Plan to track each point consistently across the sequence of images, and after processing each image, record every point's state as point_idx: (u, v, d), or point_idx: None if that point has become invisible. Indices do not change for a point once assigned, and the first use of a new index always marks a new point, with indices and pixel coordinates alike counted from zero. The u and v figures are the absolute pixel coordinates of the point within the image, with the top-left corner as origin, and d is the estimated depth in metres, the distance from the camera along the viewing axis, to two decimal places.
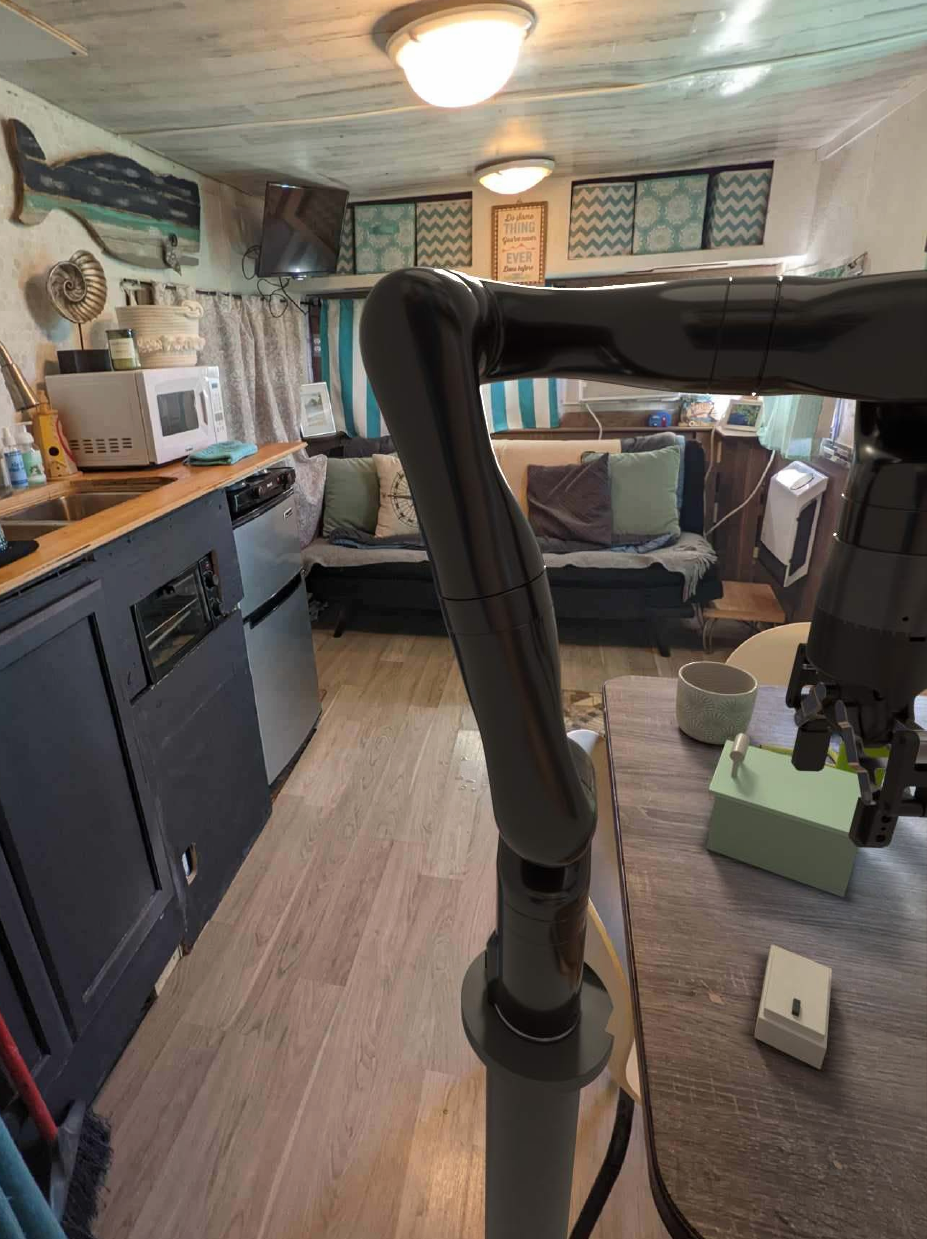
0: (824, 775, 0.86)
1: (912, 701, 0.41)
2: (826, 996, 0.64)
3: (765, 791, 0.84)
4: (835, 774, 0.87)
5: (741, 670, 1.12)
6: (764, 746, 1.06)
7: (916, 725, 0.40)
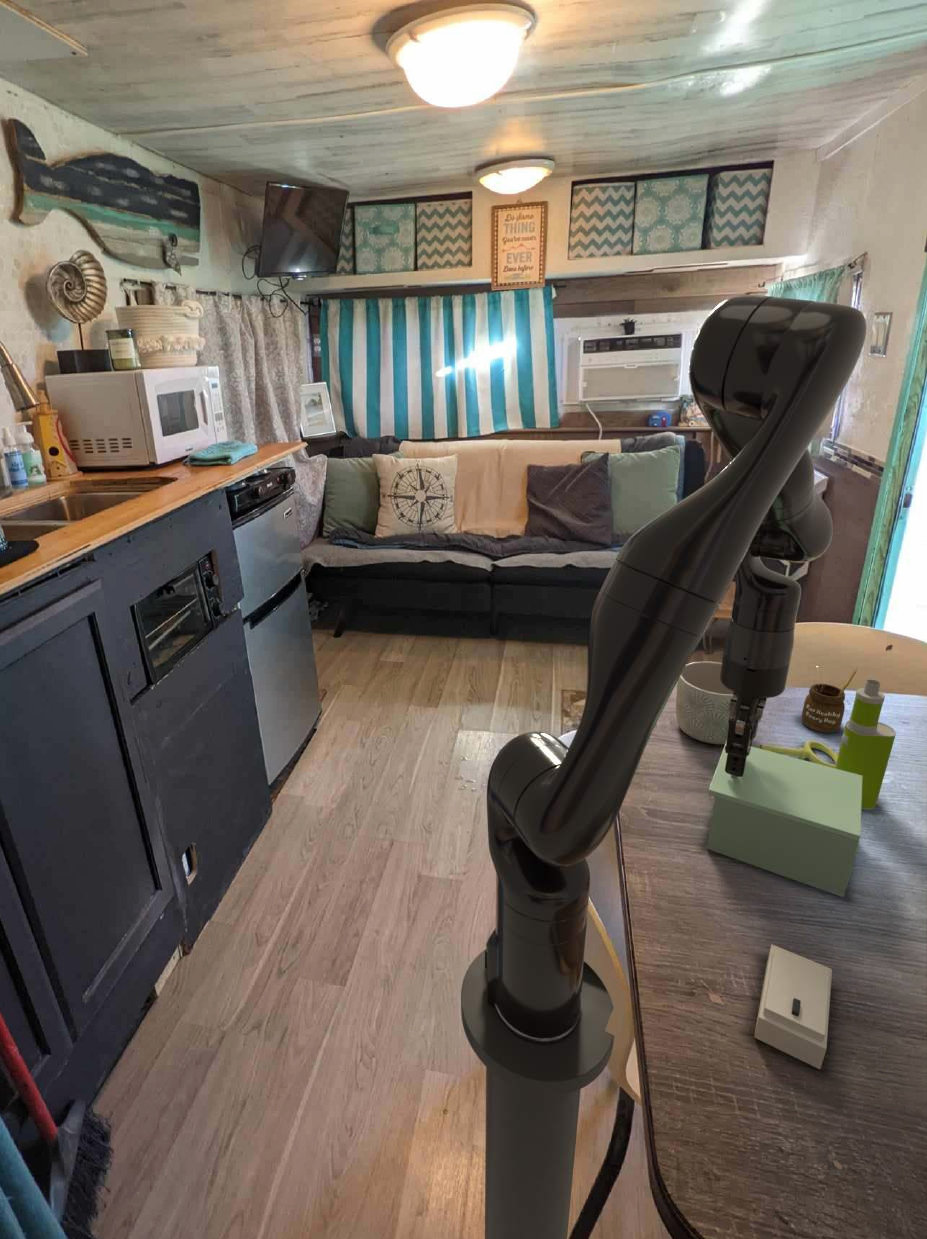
0: (824, 775, 0.86)
1: (752, 702, 0.81)
2: (826, 996, 0.64)
3: (765, 792, 0.84)
4: (835, 774, 0.87)
5: None
6: (764, 746, 1.06)
7: (745, 716, 0.81)
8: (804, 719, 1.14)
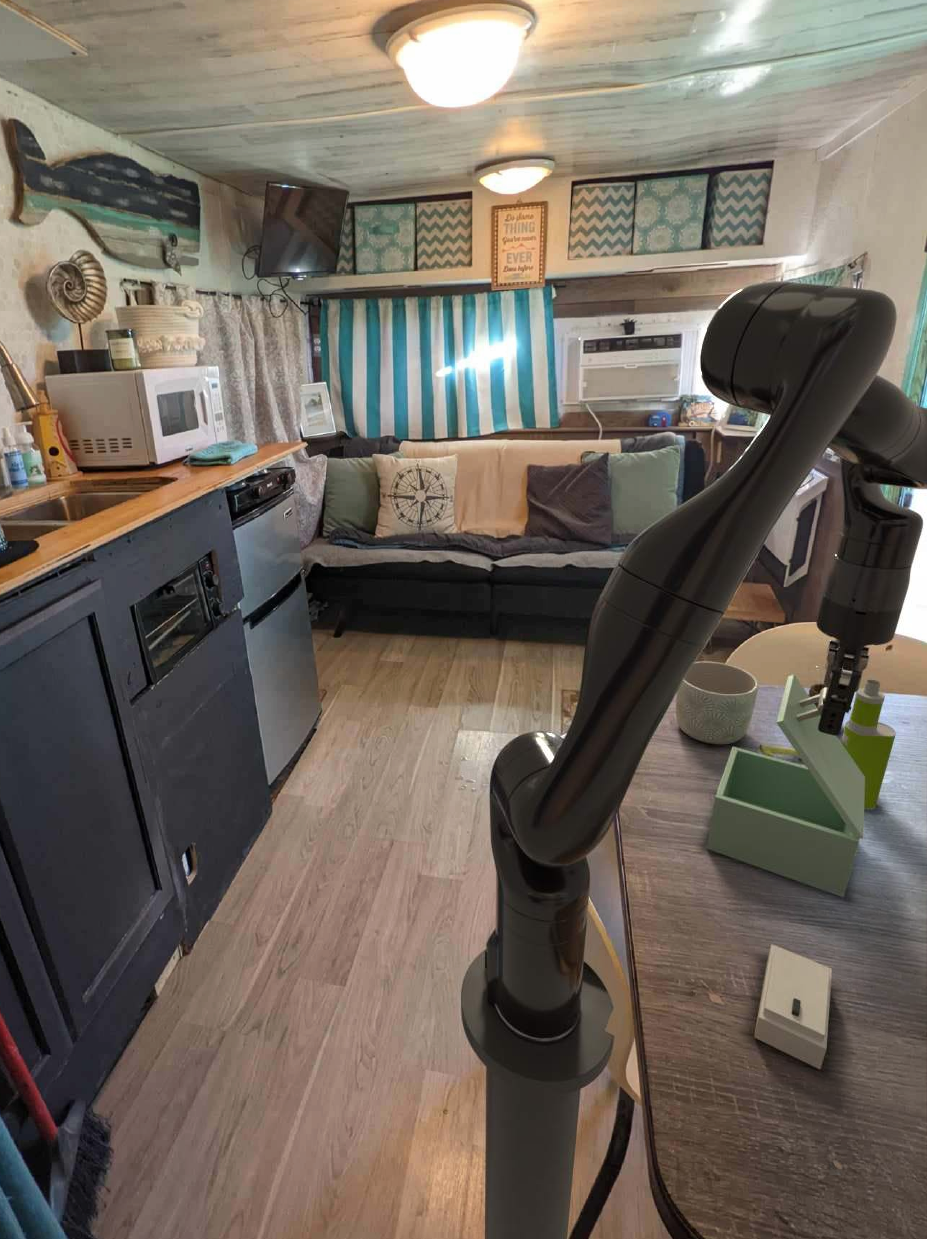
0: (846, 760, 0.84)
1: (859, 649, 0.72)
2: (826, 996, 0.64)
3: (814, 751, 0.79)
4: (852, 764, 0.85)
5: (741, 670, 1.12)
6: (764, 746, 1.06)
7: (850, 665, 0.72)
8: None
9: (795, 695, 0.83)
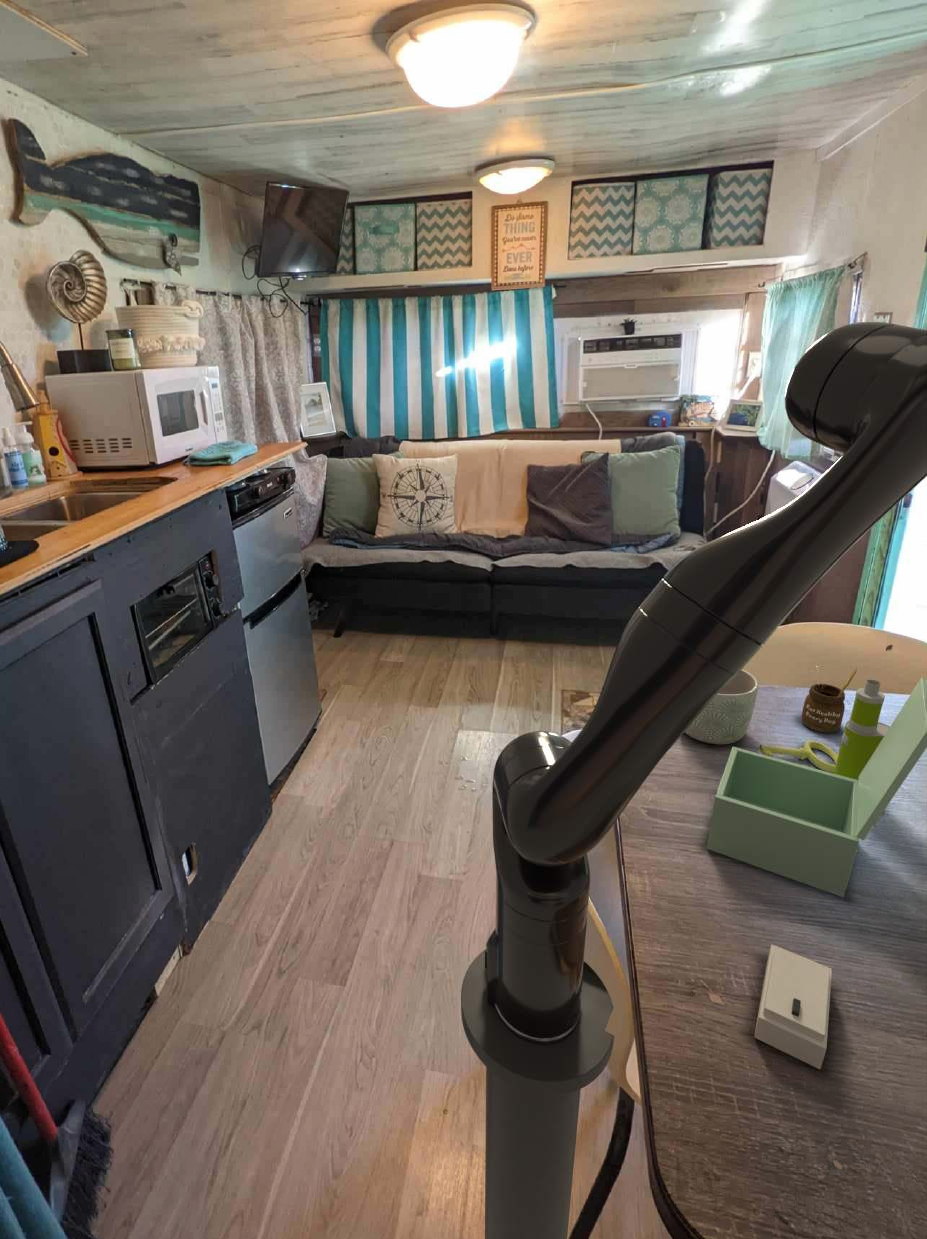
0: None
1: None
2: (826, 996, 0.64)
3: None
4: None
5: (741, 670, 1.12)
6: (764, 746, 1.06)
7: None
8: (804, 719, 1.14)
9: None
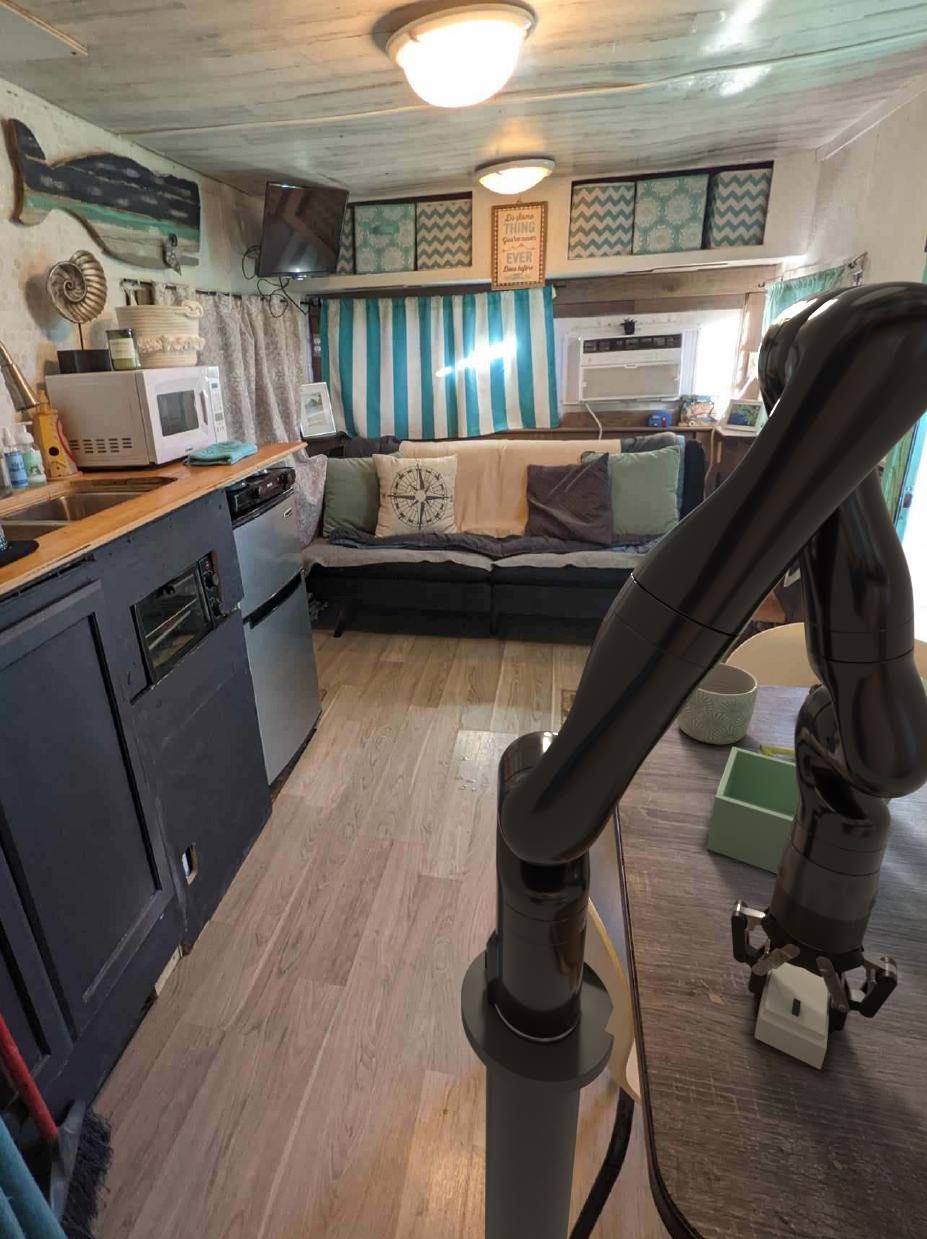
0: None
1: (769, 914, 0.64)
2: (826, 996, 0.64)
3: None
4: None
5: (741, 670, 1.12)
6: (764, 746, 1.05)
7: (749, 914, 0.65)
8: None
9: None
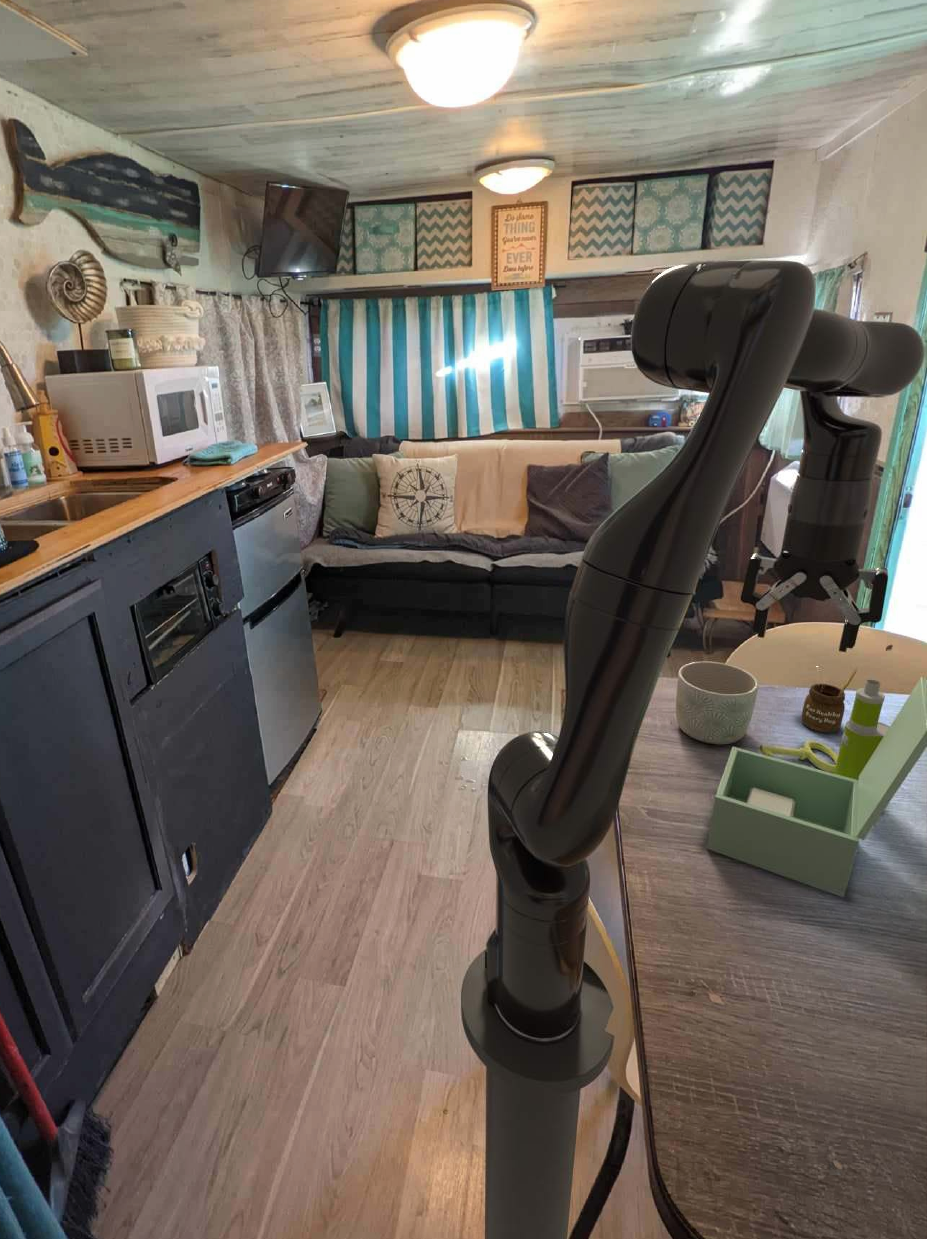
0: None
1: (780, 554, 0.77)
2: (789, 814, 0.87)
3: None
4: None
5: (741, 670, 1.12)
6: (764, 747, 1.05)
7: (765, 558, 0.78)
8: (804, 719, 1.14)
9: None
